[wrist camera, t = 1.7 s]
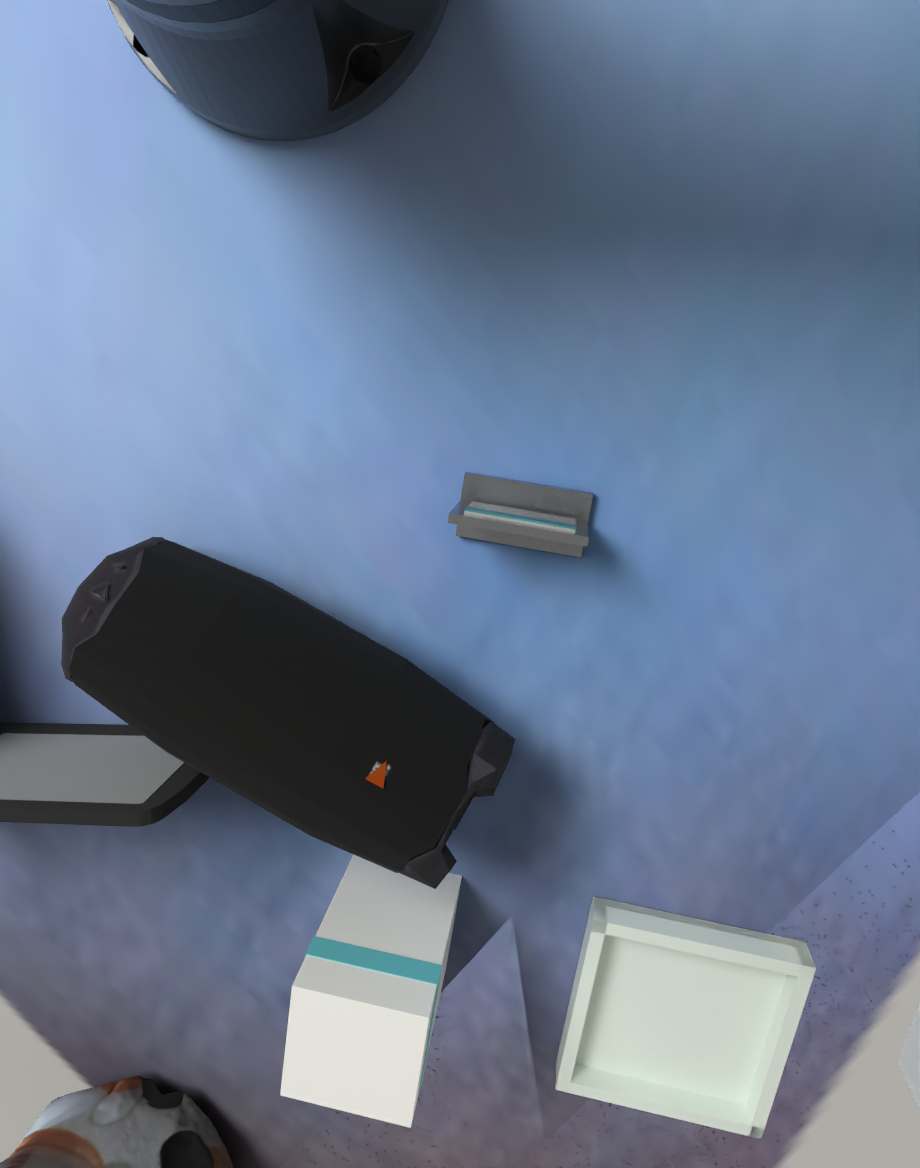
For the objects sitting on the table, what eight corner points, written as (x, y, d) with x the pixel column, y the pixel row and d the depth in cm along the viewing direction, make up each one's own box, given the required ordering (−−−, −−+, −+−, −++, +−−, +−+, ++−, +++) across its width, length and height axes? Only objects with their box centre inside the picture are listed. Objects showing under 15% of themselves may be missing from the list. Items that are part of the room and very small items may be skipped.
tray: (593, 896, 42) (593, 919, 41) (805, 942, 41) (816, 968, 40) (556, 1061, 45) (555, 1089, 44) (753, 1107, 44) (761, 1138, 43)
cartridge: (353, 851, 44) (291, 984, 34) (463, 874, 43) (430, 1017, 34) (341, 944, 46) (279, 1095, 36) (447, 968, 45) (411, 1128, 35)
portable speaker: (513, 779, 31) (84, 536, 32) (408, 946, 34) (16, 720, 35) (533, 695, 40) (190, 502, 40) (447, 836, 42) (128, 654, 43)
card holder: (465, 472, 38) (453, 483, 34) (593, 493, 37) (595, 507, 33) (456, 533, 39) (443, 551, 35) (581, 555, 38) (581, 576, 34)
